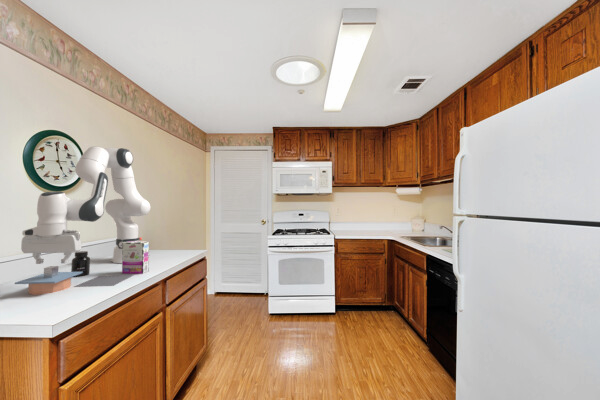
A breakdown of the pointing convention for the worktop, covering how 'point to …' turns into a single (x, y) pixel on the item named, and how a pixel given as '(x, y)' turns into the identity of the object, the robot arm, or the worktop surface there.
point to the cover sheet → (48, 280)
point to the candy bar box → (135, 257)
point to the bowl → (49, 287)
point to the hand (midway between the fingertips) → (52, 263)
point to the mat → (104, 281)
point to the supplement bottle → (81, 263)
